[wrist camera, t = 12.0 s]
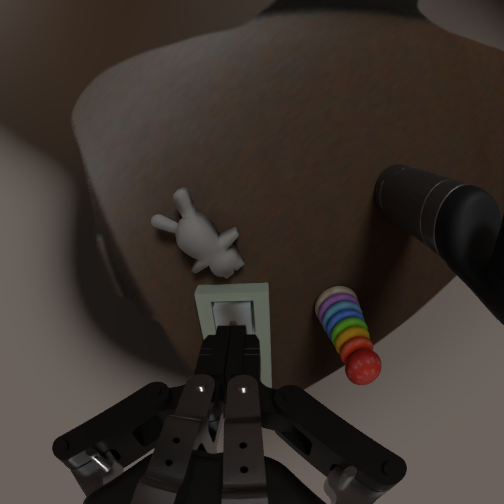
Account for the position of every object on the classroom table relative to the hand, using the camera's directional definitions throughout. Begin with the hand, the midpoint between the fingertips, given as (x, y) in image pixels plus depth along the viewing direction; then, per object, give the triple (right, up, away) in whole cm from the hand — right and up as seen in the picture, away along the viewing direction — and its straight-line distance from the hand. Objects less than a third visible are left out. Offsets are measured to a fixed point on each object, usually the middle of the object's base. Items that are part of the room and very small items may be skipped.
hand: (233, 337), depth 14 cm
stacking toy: (+16, -5, +33) cm, 37 cm away
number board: (-1, -13, +37) cm, 39 cm away
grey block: (-2, -6, +34) cm, 34 cm away
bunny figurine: (-7, +8, +29) cm, 31 cm away
